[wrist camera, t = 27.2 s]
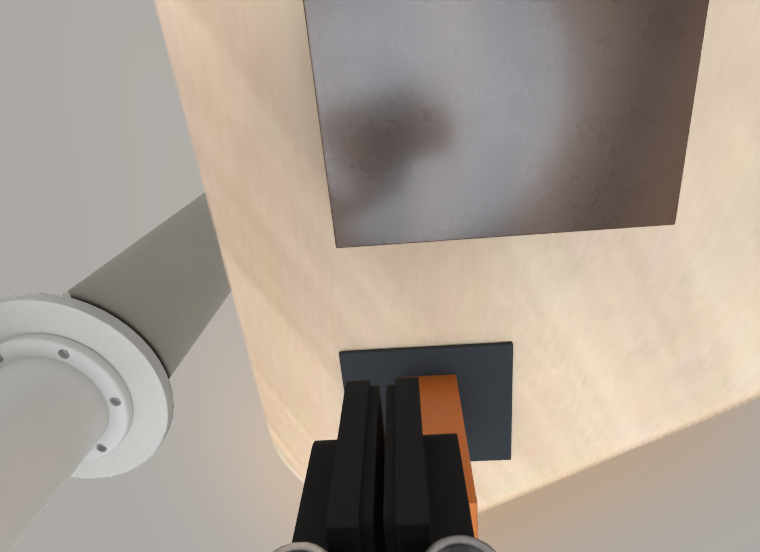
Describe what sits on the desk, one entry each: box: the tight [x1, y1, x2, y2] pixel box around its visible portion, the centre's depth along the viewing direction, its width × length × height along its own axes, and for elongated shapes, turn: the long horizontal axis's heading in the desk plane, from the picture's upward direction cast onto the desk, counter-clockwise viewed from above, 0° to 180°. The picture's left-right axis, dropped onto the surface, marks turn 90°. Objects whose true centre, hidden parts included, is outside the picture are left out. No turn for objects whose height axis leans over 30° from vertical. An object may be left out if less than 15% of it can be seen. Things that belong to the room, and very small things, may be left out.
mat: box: [339, 342, 513, 461], centre depth 43 cm, size 14×12×1 cm
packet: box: [401, 374, 478, 538], centre depth 37 cm, size 4×7×13 cm, turn 5°
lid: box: [303, 0, 709, 248], centre depth 26 cm, size 18×14×1 cm
